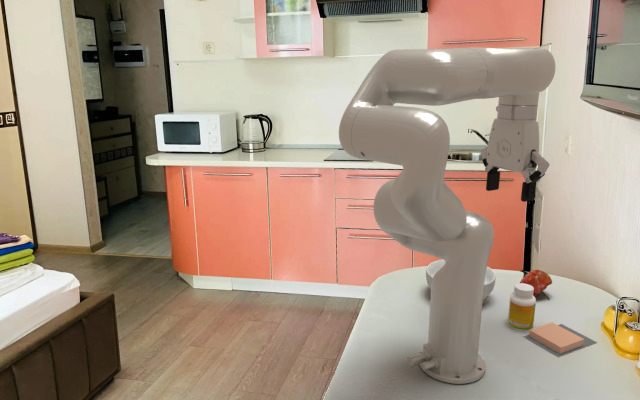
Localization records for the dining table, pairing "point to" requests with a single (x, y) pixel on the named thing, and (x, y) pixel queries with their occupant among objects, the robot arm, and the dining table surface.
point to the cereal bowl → (437, 265)
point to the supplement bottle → (522, 308)
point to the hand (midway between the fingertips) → (509, 195)
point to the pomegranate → (536, 281)
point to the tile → (556, 338)
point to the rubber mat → (586, 343)
